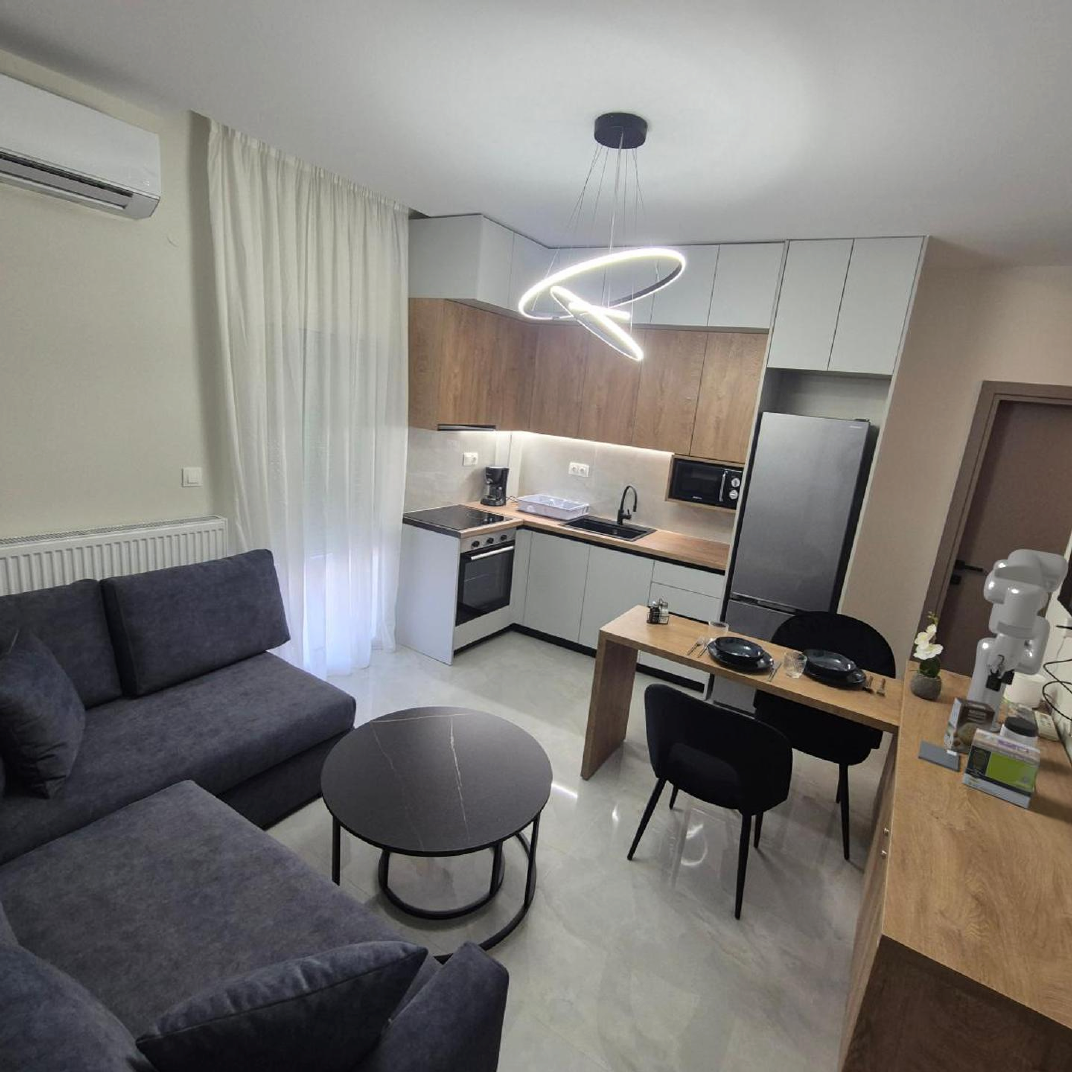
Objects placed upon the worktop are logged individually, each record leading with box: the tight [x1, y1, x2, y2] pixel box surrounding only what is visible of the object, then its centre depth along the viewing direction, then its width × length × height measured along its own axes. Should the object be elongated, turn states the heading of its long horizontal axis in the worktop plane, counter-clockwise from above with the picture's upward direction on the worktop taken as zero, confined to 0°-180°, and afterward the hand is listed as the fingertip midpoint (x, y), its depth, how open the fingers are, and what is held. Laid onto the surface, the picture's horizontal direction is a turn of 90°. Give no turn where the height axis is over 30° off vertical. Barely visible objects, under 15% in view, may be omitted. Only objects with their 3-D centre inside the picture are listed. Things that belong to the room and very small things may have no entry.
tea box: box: [962, 728, 1042, 809], centre depth 164 cm, size 15×10×15 cm
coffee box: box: [943, 696, 995, 755], centre depth 184 cm, size 9×6×16 cm
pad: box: [917, 740, 960, 772], centre depth 180 cm, size 12×10×1 cm
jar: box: [999, 716, 1040, 747], centre depth 182 cm, size 9×8×12 cm
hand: (998, 686), depth 164 cm, fingers open, 9 cm apart
